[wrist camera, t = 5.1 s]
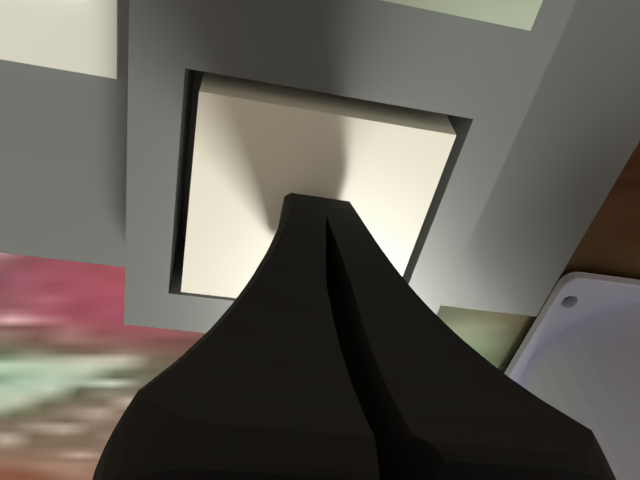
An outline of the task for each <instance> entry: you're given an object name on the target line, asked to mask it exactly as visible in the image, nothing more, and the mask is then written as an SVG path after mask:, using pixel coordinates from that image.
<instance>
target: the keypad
mask: <svg viewBox="0 0 640 480" xmlns="http://www.w3.org/2000/svg"><path fill="white" fill-rule="evenodd" d="M204 72H209V73H214V74H220V75H226V76H232V77H237V78H243V79H249V80H254V81H260V82H266V83H271V84H277V85H283V86H288V87H294V88H300V89H305V90H311V91H317V92H323V93H328V94H334V95H340V96H345V97H351V98H357V99H362V100H368V101H374V102H379V103H385V104H391V105H396V106H402V107H408V108H414V109H419V110H425V111H431V112H436V113H442V114H446V115H447V117H448V119H449V121H450V123H451V125H452V127H453V129H454V131H455V133H456V138H455V141H454V143H453V146H452V148H451V151H450V154H449V156H448V159H447V162H446V164H445V167H444V169H443V172H442V175H441V177H440V180H439V183H438V185H437V188H436V190H435V193H434V196H433V198H432V201H431V204H430V206H429V209H428V211H427V214H426V217H425V219H424V222H423V225H422V227H421V230H420V232H419V235H418V238H417V240H416V243H415V246H414V248H413V251H412V253H411V256H410V259H409V261H408V264H407V267H406V269H405V272H404V274H403V278H404V280H405V281H406V282H407V283H408V284H409V285H410V287H411V288H412V289H413V290H414V291H415V293H416V294H417V295H418V296H419V297H420V298H421V299H422V301H423V302H424V303H425V304H426V305H427V306H428V307H429V308H430V309H431V310H432V311H433V312H434V313H435V314H437V312H438V310H439V308H440V305H443V306H451V307H459V308H468V309H476V310H484V311H493V312H501V313H509V314H518V315H526V316H534V317H536V316H537V315H538V313H539V311H540V310H541V308H542V306H543V304H544V303H545V301H546V299H547V298H548V296H549V294H550V293H551V291H552V289H553V287H554V286H555V284H556V282H557V281H558V279H559V277H560V276H561V274H562V272H563V270H564V269H565V267H566V265H567V264H568V262H569V260H570V259H571V257H572V255H573V253H574V252H575V250H576V248H577V247H578V245H579V243H580V242H581V240H582V238H583V236H584V235H585V233H586V231H587V230H588V228H589V226H590V225H591V223H592V221H593V219H594V218H595V216H596V214H597V213H598V211H599V209H600V208H601V206H602V204H603V202H604V201H605V199H606V197H607V196H608V194H609V192H610V191H611V189H612V187H613V185H614V184H615V182H616V180H617V179H618V177H619V175H620V174H621V172H622V170H623V168H624V167H625V165H626V163H627V162H628V160H629V158H630V157H631V155H632V153H633V151H634V150H635V148H636V146H637V145H638V143H639V141H640V0H543V2H542V4H541V7H540V9H539V11H538V14H537V16H536V19H535V21H534V23H533V26H532V28H531V31H529V30H524V29H519V28H514V27H509V26H504V25H499V24H494V23H490V22H485V21H480V20H475V19H470V18H465V17H460V16H455V15H451V14H446V13H441V12H436V11H431V10H426V9H421V8H416V7H412V6H407V5H402V4H397V3H392V2H387V1H382V0H0V252H2V253H10V254H19V255H27V256H35V257H44V258H52V259H60V260H69V261H77V262H85V263H94V264H102V265H110V266H118V267H125V311H124V324H126V325H135V326H145V327H154V328H164V329H173V330H183V331H192V332H202V333H207V332H208V331H209V330H210V329H211V328H212V326H213V325H214V324H215V323H216V322H217V321H218V320H219V319H220V318H221V316H222V315H223V314H224V313H225V312H226V310H227V309H228V308H229V307H230V306H231V305H232V303H233V302H234V301H235V300H236V298H230V297H221V296H212V295H204V294H195V293H187V292H181V285H182V274H183V263H184V252H185V241H186V230H187V219H188V208H189V197H190V186H191V175H192V163H193V152H194V141H195V130H196V119H197V108H198V97H199V90H200V86H201V82H202V78H203V75H204Z"/></svg>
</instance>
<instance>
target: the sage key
mask: <svg viewBox="0 0 640 480" xmlns="http://www.w3.org/2000/svg"><path fill="white" fill-rule="evenodd" d="M382 1H387V2H392V3H397V4H402V5H407V6H412V7H416V8H421V9H426V10H431V11H436V12H441V13H446V14H451V15H455V16H460V17H465V18H470V19H475V20H480V21H485V22H490V23H494V24H499V25H504V26H509V27H514V28H519V29H524V30H529V31H531V28H532V26H533V23H534V21H535V19H536V16H537V14H538V11H539V9H540V7H541V4H542V2H543V0H382Z"/></svg>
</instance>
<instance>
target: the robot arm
mask: <svg viewBox="0 0 640 480" xmlns="http://www.w3.org/2000/svg"><path fill="white" fill-rule="evenodd" d="M569 296H571V297H569ZM566 297H569V298H567V299H565V298H566ZM93 480H640V280H637V279H630V278H623V277H615V276H608V275H601V274H593V273H586V272H571V273H568V274H566V275H564V276H563V277H562V278H561V279H560V280H559V281H558V283H557V284H556V286H555V288H554V290H553V291H552V293H551V295H550V296H549V298H548V300H547V301H546V303H545V305H544V306H543V308H542V310H541V312H540V313H539V315H538V317H537V318H536V320H535V322H534V323H533V325H532V327H531V329H530V330H529V332H528V334H527V335H526V337H525V339H524V340H523V342H522V344H521V345H520V347H519V349H518V351H517V352H516V354H515V356H514V357H513V359H512V361H511V362H510V364H509V366H508V367H507V369H506V371H505V373H503V372H501V371H500V370H499V369H497V368H496V367H495V366H494V365H492V364H491V363H490V362H488V361H487V360H486V359H485V358H484V357H482V356H481V355H480V354H479V353H478V352H476V351H475V350H474V349H473V348H472V347H470V346H469V345H468V344H467V343H466V342H464V341H463V340H462V339H461V338H460V337H459V336H458V335H457V334H456V333H454V332H453V331H452V330H451V329H450V328H449V327H448V326H447V325H446V324H445V323H444V322H443V321H442V320H441V319H440V318H439V317H438V316H437V315H436V314H435V313H434V312H433V311H432V310H431V309H430V308H429V307H428V306H427V305H426V304H425V303H424V302H423V301H422V299H421V298H420V297H419V296H418V295H417V294H416V293H415V291H414V290H413V289H412V288H411V287H410V285H409V284H408V283H407V282H406V281H405V280H404V278H403V277H402V276H401V275H400V273H399V272H398V271H397V270H396V268H395V267H394V266H393V264H392V263H391V262H390V260H389V259H388V258H387V256H386V255H385V253H384V252H383V251H382V249H381V248H380V246H379V245H378V244H377V242H376V241H375V239H374V238H373V236H372V235H371V233H370V232H369V230H368V229H367V227H366V226H365V224H364V223H363V221H362V219H361V218H360V216H359V215H358V213H357V212H356V210H355V209H354V207H353V206H352V204H351V203H350V201H343V200H337V199H330V198H323V197H316V196H310V195H303V194H296V193H290V194H288V195H286V196H285V197H284V200H283V205H282V210H281V215H280V220H279V225H278V229H277V231H276V234H275V236H274V238H273V240H272V242H271V244H270V247H269V249H268V250H267V252H266V254H265V256H264V257H263V259H262V261H261V263H260V264H259V266H258V268H257V269H256V271H255V273H254V274H253V276H252V277H251V279H250V280H249V282H248V283H247V285H246V286H245V288H244V289H243V290H242V292H241V293H240V294H239V296H238V297H237V298H236V300H235V301H234V302H233V303H232V305H231V306H230V307H229V308H228V309H227V310H226V312H225V313H224V314H223V315H222V316H221V318H220V319H219V320H218V321H217V322H216V323H215V324H214V325H213V326H212V328H211V329H210V330H209V331H208V332H207V333H206V334H205V335H204V336H203V337H202V338H200V339H199V340H198V341H197V342H196V343H195V344H194V345H193V346H192V347H191V348H190V349H189V350H188V351H187V352H186V353H185V354H184V355H182V356H181V357H180V358H179V359H178V360H177V361H176V362H174V363H173V364H172V365H171V366H170V367H168V368H167V369H166V370H164V371H163V372H162V373H161V374H159V375H158V376H157V377H155V378H154V379H153V380H152V381H150V382H149V383H148V384H146V385H145V386H144V387H142V388H141V389H140V390H139V391H138V392H137V393H136V395H135V397H134V398H133V400H132V401H131V403H130V404H129V406H128V407H127V409H126V411H125V412H124V414H123V415H122V417H121V419H120V420H119V422H118V424H117V426H116V427H115V429H114V431H113V433H112V434H111V436H110V438H109V440H108V442H107V444H106V446H105V448H104V450H103V453H102V455H101V457H100V460H99V462H98V464H97V467H96V470H95V473H94V476H93Z"/></svg>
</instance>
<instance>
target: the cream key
mask: <svg viewBox="0 0 640 480" xmlns="http://www.w3.org/2000/svg"><path fill="white" fill-rule="evenodd" d="M455 138H456V133H455V131H454V129H453V127H452V125H451V123H450V121H449V119H448V117H447V115H446V114H442V113H436V112H431V111H425V110H419V109H414V108H408V107H402V106H396V105H391V104H385V103H379V102H374V101H368V100H362V99H357V98H351V97H345V96H340V95H334V94H328V93H323V92H317V91H311V90H305V89H300V88H294V87H288V86H283V85H277V84H271V83H266V82H260V81H254V80H249V79H243V78H237V77H232V76H226V75H220V74H214V73H209V72H204V75H203V78H202V82H201V86H200V90H199V97H198V108H197V119H196V130H195V141H194V152H193V163H192V175H191V186H190V197H189V208H188V219H187V230H186V241H185V252H184V263H183V274H182V285H181V292H187V293H195V294H204V295H212V296H221V297H230V298H237V297H238V296H239V294H240V293H241V292H242V290H243V289H244V288H245V286H246V285H247V283H248V282H249V280H250V279H251V277H252V276H253V274H254V273H255V271H256V269H257V268H258V266H259V264H260V263H261V261H262V259H263V257H264V256H265V254H266V252H267V250H268V249H269V247H270V244H271V242H272V240H273V238H274V236H275V234H276V231H277V229H278V225H279V220H280V215H281V210H282V205H283V200H284V197H285V196H286V195H288V194H290V193H296V194H303V195H310V196H316V197H323V198H330V199H337V200H343V201H350V203H351V204H352V206H353V207H354V209H355V210H356V212H357V213H358V215H359V216H360V218H361V219H362V221H363V223H364V224H365V226H366V227H367V229H368V230H369V232H370V233H371V235H372V236H373V238H374V239H375V241H376V242H377V244H378V245H379V246H380V248H381V249H382V251H383V252H384V253H385V255H386V256H387V258H388V259H389V260H390V262H391V263H392V264H393V266H394V267H395V268H396V270H397V271H398V272H399V273H400V275H401V276H402V277H403V274H404V272H405V269H406V267H407V264H408V261H409V259H410V256H411V253H412V251H413V248H414V246H415V243H416V240H417V238H418V235H419V232H420V230H421V227H422V225H423V222H424V219H425V217H426V214H427V211H428V209H429V206H430V204H431V201H432V198H433V196H434V193H435V190H436V188H437V185H438V183H439V180H440V177H441V175H442V172H443V169H444V167H445V164H446V162H447V159H448V156H449V154H450V151H451V148H452V146H453V143H454V141H455Z"/></svg>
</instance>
